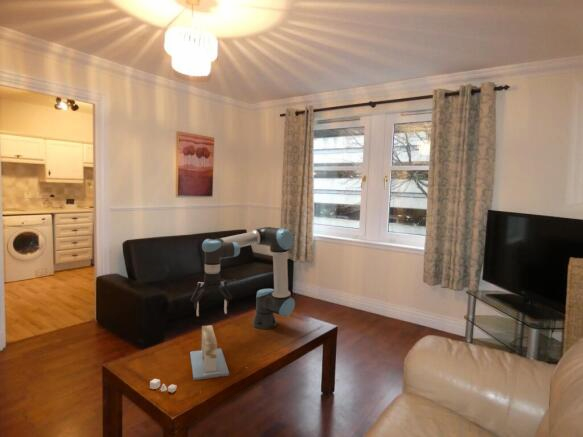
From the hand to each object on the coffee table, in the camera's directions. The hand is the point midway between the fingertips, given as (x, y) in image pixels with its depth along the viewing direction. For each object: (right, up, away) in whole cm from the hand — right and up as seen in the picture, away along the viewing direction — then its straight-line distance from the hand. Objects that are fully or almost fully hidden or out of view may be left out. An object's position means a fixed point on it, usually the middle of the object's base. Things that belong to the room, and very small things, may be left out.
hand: (211, 314), depth 172 cm
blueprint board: (-1, -24, -1) cm, 25 cm away
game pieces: (-15, -26, -24) cm, 38 cm away
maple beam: (-1, -16, -2) cm, 16 cm away
